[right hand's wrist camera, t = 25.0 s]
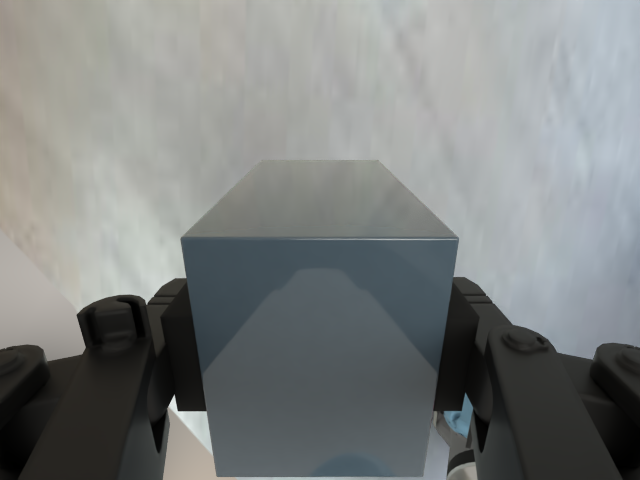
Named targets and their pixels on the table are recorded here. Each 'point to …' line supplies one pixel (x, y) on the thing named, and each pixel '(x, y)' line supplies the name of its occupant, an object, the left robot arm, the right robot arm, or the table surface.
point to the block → (319, 320)
